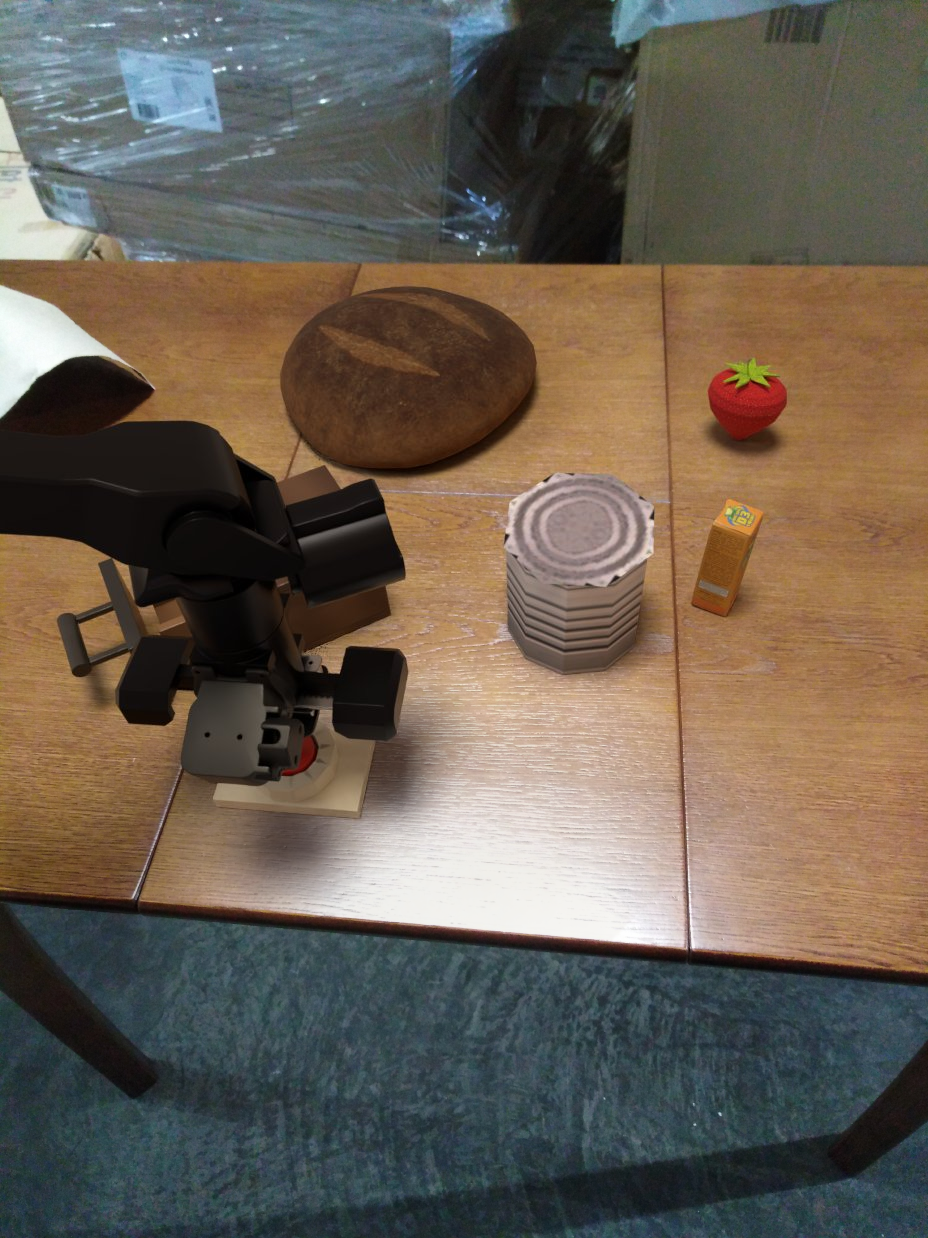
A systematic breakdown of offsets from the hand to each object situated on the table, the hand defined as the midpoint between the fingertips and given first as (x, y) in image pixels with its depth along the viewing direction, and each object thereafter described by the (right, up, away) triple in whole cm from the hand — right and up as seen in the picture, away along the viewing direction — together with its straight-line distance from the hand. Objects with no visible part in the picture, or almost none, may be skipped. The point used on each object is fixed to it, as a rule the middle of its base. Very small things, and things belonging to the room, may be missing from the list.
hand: (289, 750), depth 66 cm
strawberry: (+41, +28, +24) cm, 55 cm away
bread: (+7, +35, +33) cm, 48 cm away
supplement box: (+35, +11, +11) cm, 38 cm away
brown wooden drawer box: (-2, +11, +14) cm, 18 cm away
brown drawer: (-11, +8, +10) cm, 17 cm away
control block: (0, -2, +2) cm, 3 cm away
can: (+22, +9, +10) cm, 26 cm away
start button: (0, -1, +1) cm, 2 cm away
